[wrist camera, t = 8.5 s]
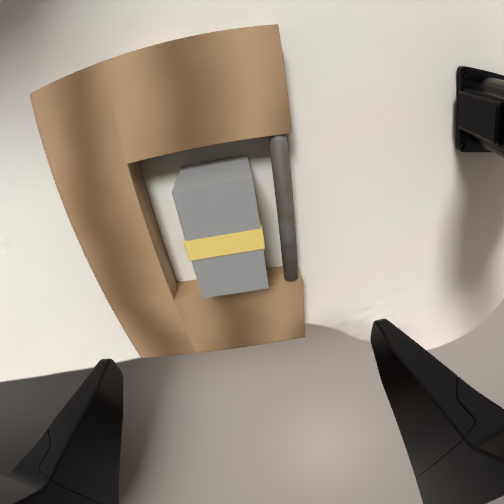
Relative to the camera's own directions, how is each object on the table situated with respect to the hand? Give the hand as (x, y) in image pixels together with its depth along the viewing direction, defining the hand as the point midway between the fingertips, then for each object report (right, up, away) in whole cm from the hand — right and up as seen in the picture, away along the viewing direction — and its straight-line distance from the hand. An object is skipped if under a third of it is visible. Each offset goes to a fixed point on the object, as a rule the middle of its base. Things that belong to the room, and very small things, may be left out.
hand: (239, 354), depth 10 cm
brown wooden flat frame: (-4, +5, +10) cm, 12 cm away
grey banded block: (-1, +6, +10) cm, 12 cm away
